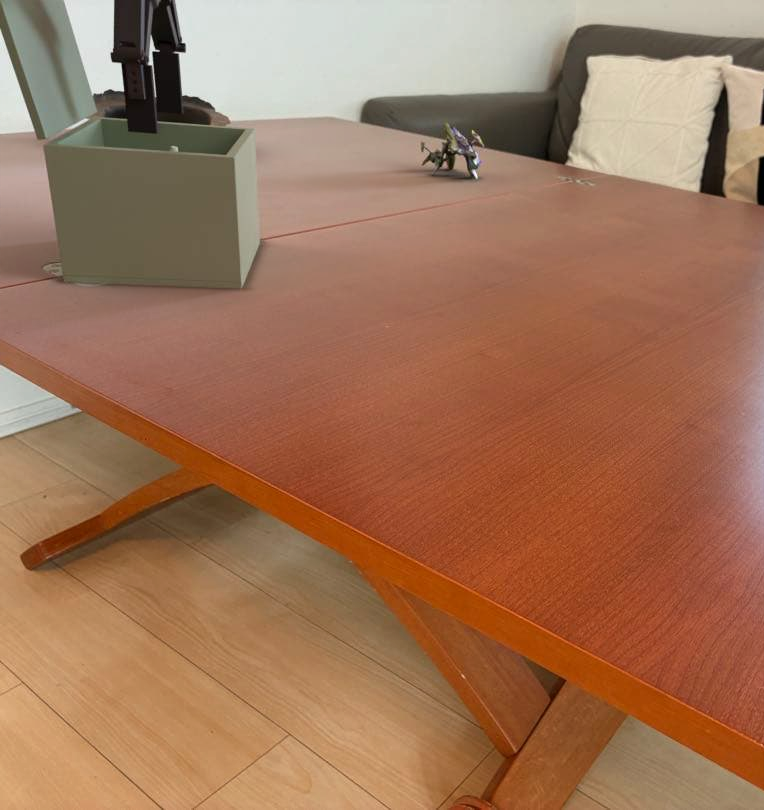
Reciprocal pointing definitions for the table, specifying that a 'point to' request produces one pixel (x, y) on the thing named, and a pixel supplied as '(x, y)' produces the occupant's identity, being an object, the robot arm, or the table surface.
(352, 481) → the table surface
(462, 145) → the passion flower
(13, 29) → the chest lid
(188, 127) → the chest
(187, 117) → the stone bowl
